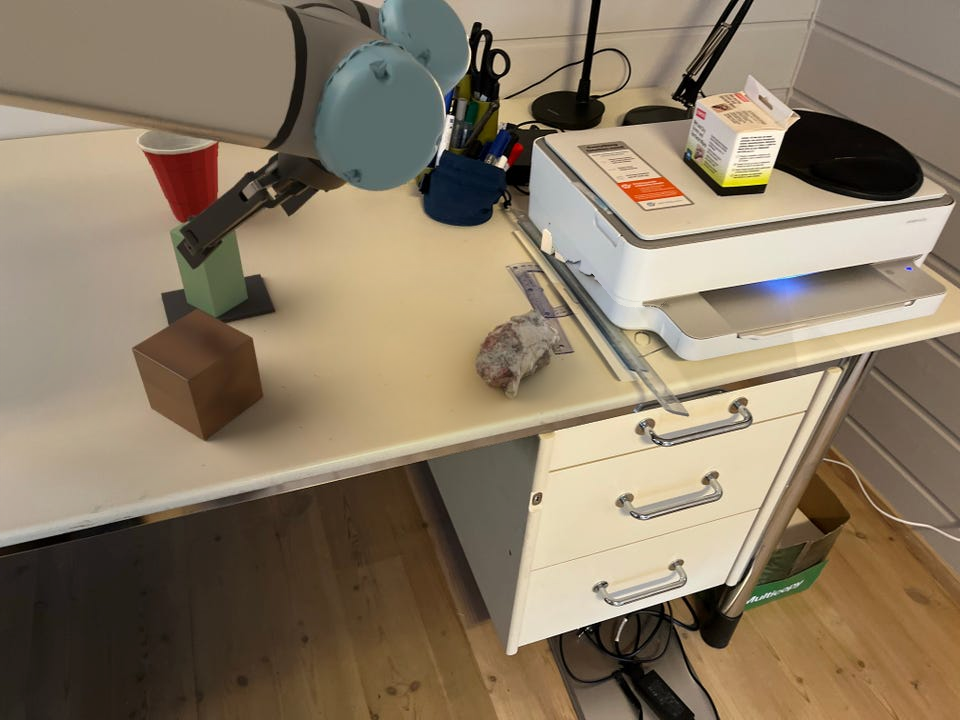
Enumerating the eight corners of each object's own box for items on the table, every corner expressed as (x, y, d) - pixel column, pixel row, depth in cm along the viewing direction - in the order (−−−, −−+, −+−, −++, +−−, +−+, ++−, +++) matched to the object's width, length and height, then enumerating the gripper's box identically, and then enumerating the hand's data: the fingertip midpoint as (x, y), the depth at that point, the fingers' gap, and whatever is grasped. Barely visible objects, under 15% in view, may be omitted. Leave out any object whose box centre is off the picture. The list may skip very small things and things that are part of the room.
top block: (216, 318, 88) (199, 245, 82) (187, 303, 90) (169, 230, 84) (248, 298, 91) (234, 226, 85) (219, 284, 93) (204, 212, 87)
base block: (204, 441, 74) (188, 381, 69) (150, 407, 77) (131, 348, 72) (264, 396, 79) (252, 337, 74) (211, 367, 82) (197, 308, 77)
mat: (170, 334, 86) (169, 330, 86) (161, 296, 92) (160, 293, 91) (275, 311, 91) (274, 308, 90) (260, 276, 96) (260, 273, 96)
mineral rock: (523, 318, 92) (526, 288, 89) (578, 345, 88) (583, 315, 86) (445, 379, 83) (446, 348, 80) (503, 412, 79) (506, 381, 76)
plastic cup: (222, 189, 113) (207, 111, 105) (246, 221, 106) (231, 141, 98) (147, 205, 108) (125, 125, 100) (167, 240, 101) (145, 157, 94)
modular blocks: (540, 249, 104) (543, 224, 102) (573, 233, 108) (576, 209, 105) (656, 315, 94) (662, 289, 91) (687, 295, 98) (694, 269, 95)
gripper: (254, 228, 57) (164, 314, 73) (442, 125, 74) (336, 213, 89) (192, 143, 56) (115, 249, 71) (398, 57, 72) (299, 159, 88)
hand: (238, 229), depth 80 cm, fingers open, 13 cm apart
